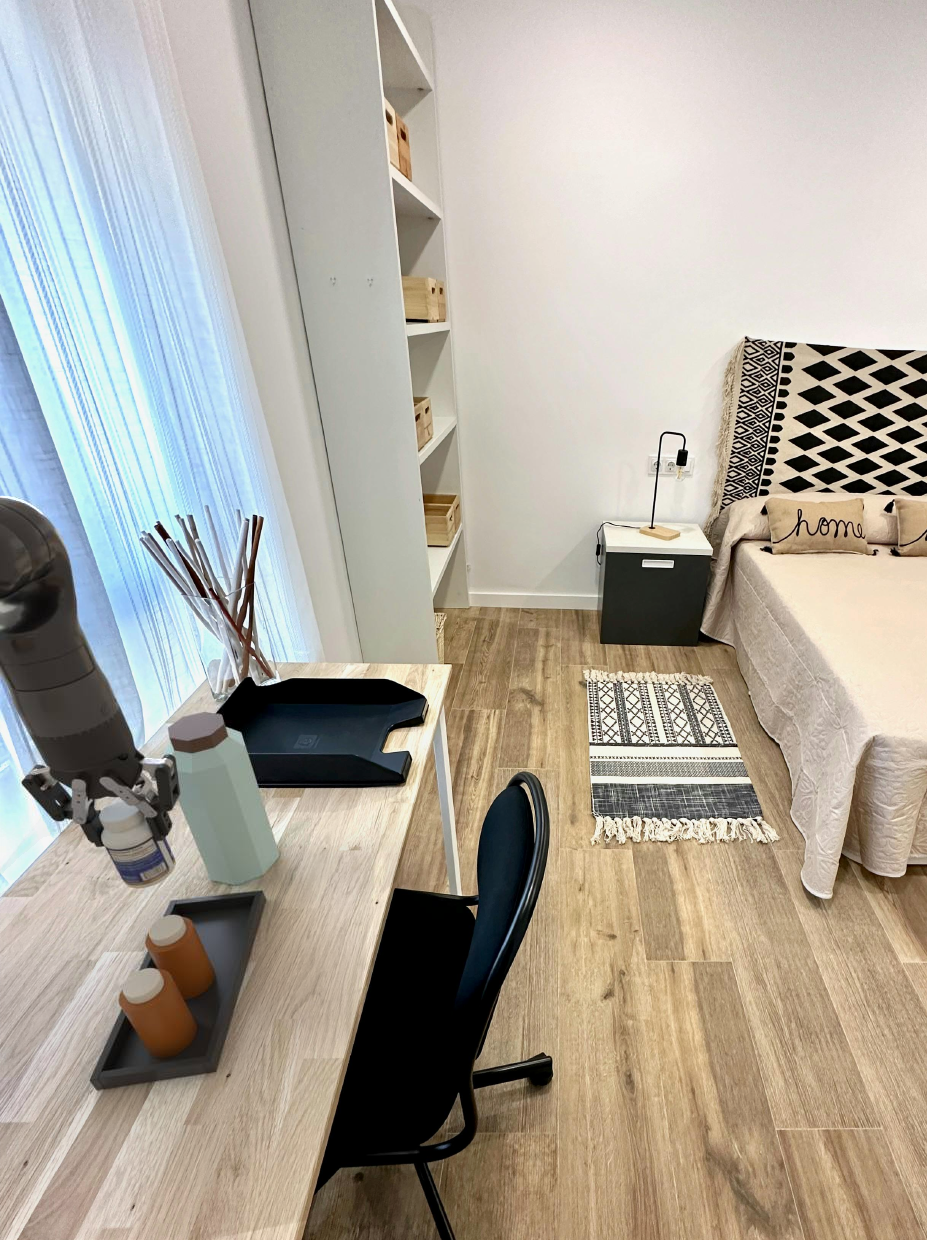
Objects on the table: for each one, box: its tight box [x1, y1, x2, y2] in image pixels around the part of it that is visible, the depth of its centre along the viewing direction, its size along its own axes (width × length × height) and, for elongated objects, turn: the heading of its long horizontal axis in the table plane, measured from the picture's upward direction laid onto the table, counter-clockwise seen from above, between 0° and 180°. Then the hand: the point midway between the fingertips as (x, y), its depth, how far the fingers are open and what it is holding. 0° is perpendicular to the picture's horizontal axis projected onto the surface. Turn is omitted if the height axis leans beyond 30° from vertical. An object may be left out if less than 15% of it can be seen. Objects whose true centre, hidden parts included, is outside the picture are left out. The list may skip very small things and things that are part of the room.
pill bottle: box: [99, 799, 177, 889], centre depth 71 cm, size 5×5×10 cm
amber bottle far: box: [118, 968, 197, 1059], centre depth 68 cm, size 5×5×10 cm
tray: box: [89, 889, 267, 1091], centre depth 76 cm, size 12×24×3 cm, turn 10°
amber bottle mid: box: [144, 915, 215, 1000], centre depth 74 cm, size 5×5×10 cm
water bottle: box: [162, 711, 281, 886], centre depth 87 cm, size 10×10×25 cm
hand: (134, 838), depth 71 cm, fingers closed on pill bottle, 5 cm apart
